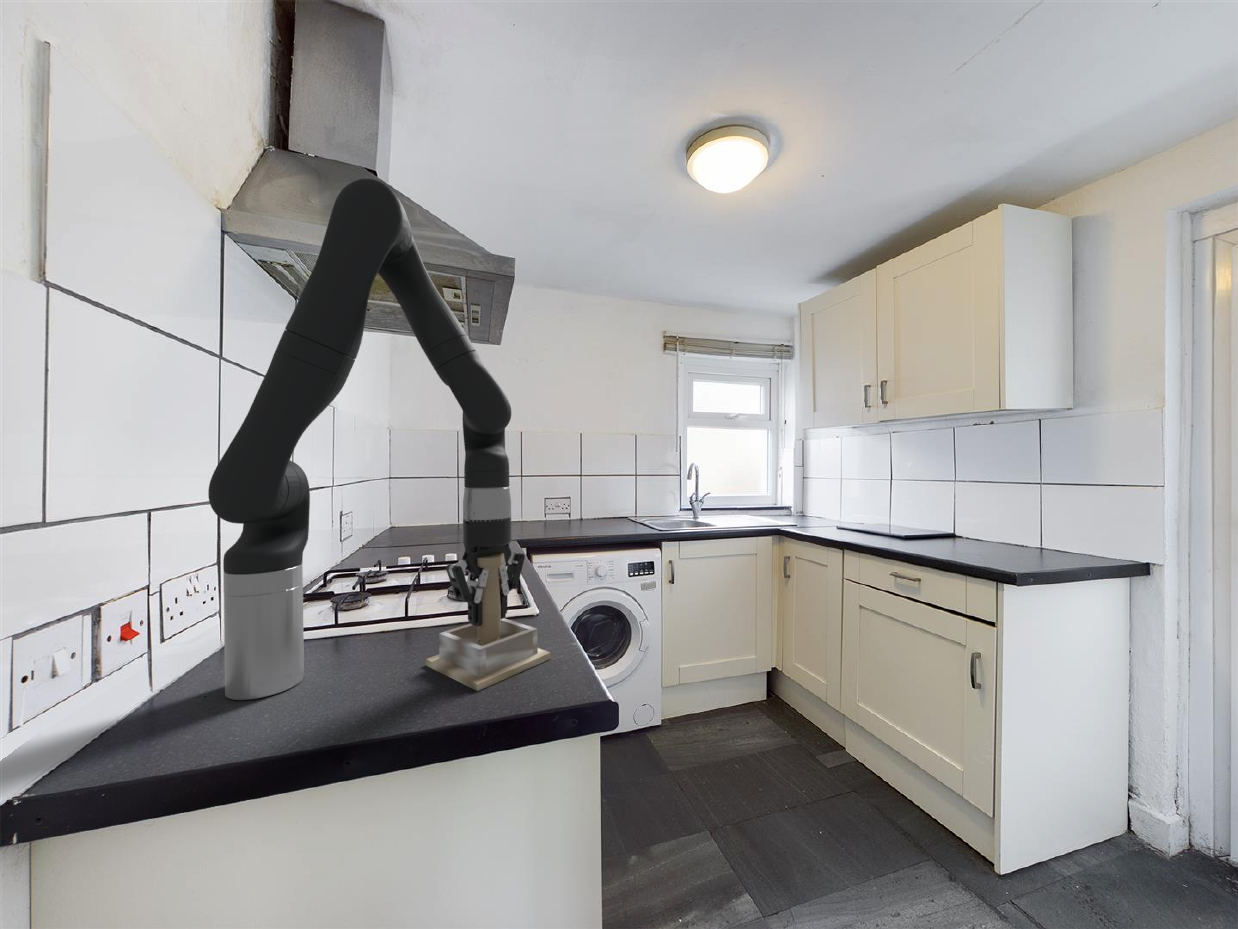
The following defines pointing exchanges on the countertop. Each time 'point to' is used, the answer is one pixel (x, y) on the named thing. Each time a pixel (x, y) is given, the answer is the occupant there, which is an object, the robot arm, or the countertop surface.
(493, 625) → the handle
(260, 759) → the countertop surface
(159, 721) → the countertop surface
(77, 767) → the countertop surface
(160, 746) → the countertop surface
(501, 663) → the small square bin
